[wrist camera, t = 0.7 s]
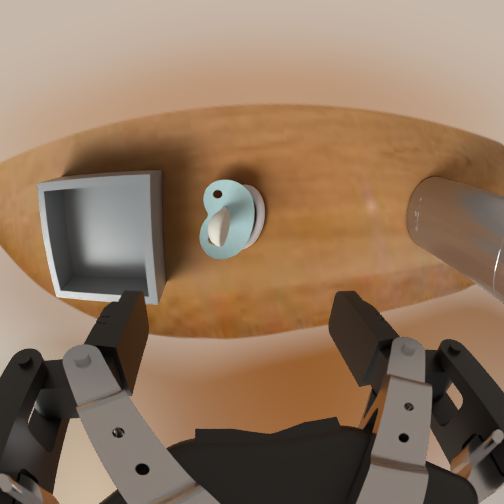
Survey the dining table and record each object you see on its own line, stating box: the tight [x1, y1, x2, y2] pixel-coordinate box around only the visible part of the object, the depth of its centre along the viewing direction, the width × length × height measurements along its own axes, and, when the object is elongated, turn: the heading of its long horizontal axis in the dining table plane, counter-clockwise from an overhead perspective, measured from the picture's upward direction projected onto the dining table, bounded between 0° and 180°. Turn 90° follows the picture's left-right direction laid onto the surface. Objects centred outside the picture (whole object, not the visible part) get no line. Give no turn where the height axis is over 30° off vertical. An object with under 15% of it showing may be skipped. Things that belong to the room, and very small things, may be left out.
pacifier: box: [200, 179, 265, 259], centre depth 23 cm, size 7×6×6 cm
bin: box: [37, 170, 166, 304], centre depth 23 cm, size 12×12×4 cm
